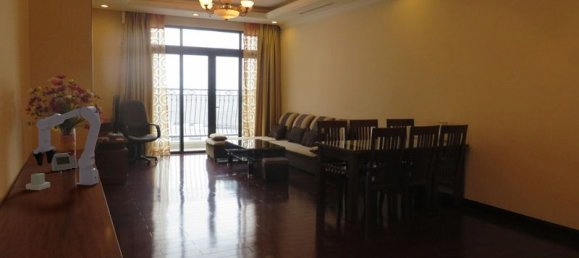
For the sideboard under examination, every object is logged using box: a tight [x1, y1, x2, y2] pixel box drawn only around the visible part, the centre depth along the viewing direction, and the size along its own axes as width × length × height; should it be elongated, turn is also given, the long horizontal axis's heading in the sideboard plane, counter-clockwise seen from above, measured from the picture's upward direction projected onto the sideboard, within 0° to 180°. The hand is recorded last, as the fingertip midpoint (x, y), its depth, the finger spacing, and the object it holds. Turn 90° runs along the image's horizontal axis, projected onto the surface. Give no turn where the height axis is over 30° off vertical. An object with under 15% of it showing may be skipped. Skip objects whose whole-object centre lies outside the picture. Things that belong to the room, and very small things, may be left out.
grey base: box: [25, 181, 51, 191], centre depth 228 cm, size 8×8×3 cm
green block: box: [30, 172, 46, 185], centre depth 227 cm, size 4×4×5 cm
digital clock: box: [50, 152, 78, 172], centre depth 276 cm, size 16×9×11 cm, turn 132°
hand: (44, 164), depth 239 cm, fingers open, 7 cm apart
